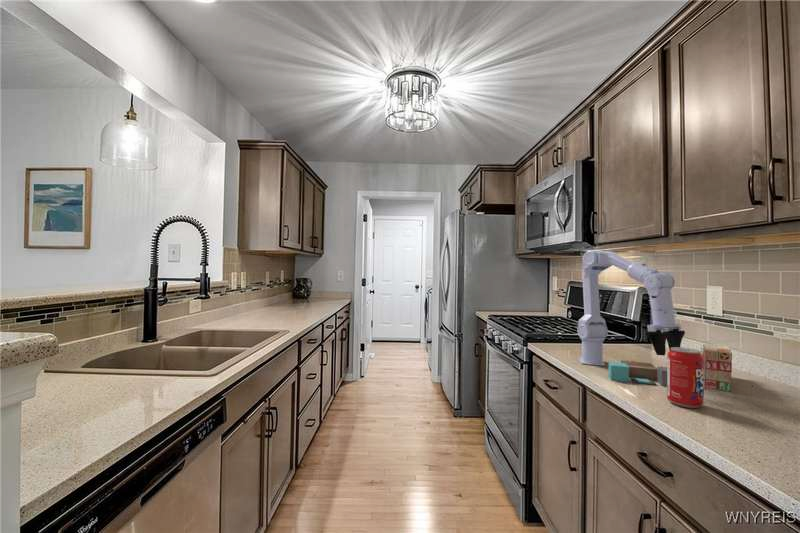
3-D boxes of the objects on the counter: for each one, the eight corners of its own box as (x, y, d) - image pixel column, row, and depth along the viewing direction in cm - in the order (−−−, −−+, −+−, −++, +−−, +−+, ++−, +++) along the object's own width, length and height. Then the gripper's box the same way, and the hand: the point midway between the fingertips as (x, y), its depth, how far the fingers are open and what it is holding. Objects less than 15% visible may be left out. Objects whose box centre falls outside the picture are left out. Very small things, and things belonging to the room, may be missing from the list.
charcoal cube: (657, 381, 119) (657, 366, 119) (675, 383, 117) (675, 368, 117) (661, 386, 114) (661, 370, 114) (680, 388, 112) (681, 372, 112)
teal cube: (608, 376, 124) (608, 361, 124) (625, 378, 122) (625, 363, 122) (611, 380, 119) (611, 365, 119) (628, 382, 118) (628, 367, 118)
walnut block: (621, 371, 131) (621, 360, 131) (650, 374, 128) (650, 363, 128) (626, 378, 123) (626, 366, 123) (657, 381, 120) (657, 369, 120)
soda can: (660, 398, 102) (660, 346, 103) (687, 399, 102) (688, 346, 103) (681, 409, 95) (682, 352, 95) (711, 410, 95) (712, 352, 95)
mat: (630, 378, 122) (630, 376, 122) (651, 380, 120) (651, 378, 120) (634, 383, 117) (634, 381, 117) (656, 385, 114) (656, 384, 114)
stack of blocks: (700, 373, 130) (701, 338, 130) (724, 376, 126) (724, 341, 126) (704, 388, 113) (705, 348, 113) (731, 392, 109) (732, 351, 109)
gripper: (662, 310, 108) (668, 357, 106) (689, 309, 114) (695, 353, 112) (638, 311, 114) (643, 355, 112) (665, 310, 120) (670, 352, 118)
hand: (667, 354), depth 112 cm, fingers open, 7 cm apart
